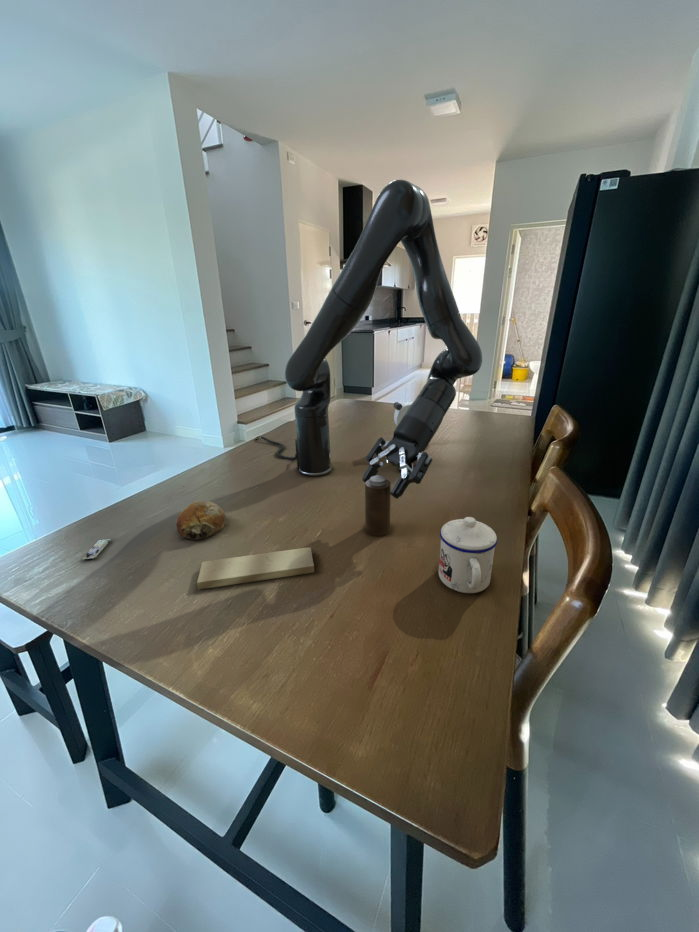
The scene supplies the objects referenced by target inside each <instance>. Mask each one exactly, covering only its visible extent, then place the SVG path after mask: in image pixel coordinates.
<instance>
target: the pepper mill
mask: <svg viewBox="0 0 699 932" xmlns="http://www.w3.org/2000/svg"><path fill="white" fill-rule="evenodd" d="M391 485H392V483H391V481H390V480H389V479H386V477H385V476H384V475H379V474H378V475H377V474H376V476H372V477H370V479H369V480H367V481H366V482H364V509H365V514H364V515H365V517H364V519H365V532H366V533H367V534H368V535H370V536H372V537H373V536H374V537H383V536H386V535H388V534H389V533H390V531H391V496H392V495H391V494H390V493H391V491H392V489H391V487H392V486H391Z"/></svg>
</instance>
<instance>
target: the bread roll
mask: <svg viewBox="0 0 699 932" xmlns="http://www.w3.org/2000/svg"><path fill="white" fill-rule="evenodd" d="M225 524H226V514H225V512H224V510H223V509H222V508H221V507H220V506H219V505H218V504H217V503H214V502H212V501H210V500H201V499H200V500H193V501H191V503H189V504H188V505H187V506H185V507H184V509H182V510H181V511H180V512H179V514H178V516H177V519H176V530H177V533H178V535H179V536H180V537H182V538H183V539H188V540H192V541H193V540H197V541H198V540H202V539H206V538H210V537H211V536H214V535H215V534H219V533H220V532H221V530H222V529H223V528H224V527H225Z"/></svg>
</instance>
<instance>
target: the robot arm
mask: <svg viewBox="0 0 699 932" xmlns="http://www.w3.org/2000/svg"><path fill="white" fill-rule="evenodd" d="M400 242H401V245H402V246H403V248H404V250H405V252H406V254H407V256H408V259H409V261H410V264H411V268H412V272H413V277H414V284H415V290H416V297H417V301H418V305H419V308H420V311H421V314H422V317H423V320H424V322H425V325H426V327H427V330H428V332H429V335H430V337H431V338H432V339H434V340H441V341H442V342H443V343H444V345H445V346H446V348H445V349H443V350H442V351H441V352H439V354H438V355H437V356H436V357H435V359H434V360H433V363H432V364H431V367H430V370H429V373H428V375H427V379H426V382H425V384H424V385H423V387H422V388H421V389H420V390H419V391H420V392H419V393H418V395H417V396H416V398H415V399H414V401H412V402H413V403H412V404H411V405H410V407H409V408H408V410H407V412H406V413H405V415H404V416H403V418H402V419H401V421H400V423H399V424H398V426H397V425H396V427H395V429H394V431H393V436H392V439H391V440H389V441H388V440H385V439H384V438H383V437H379V438H378V439H377V440H376V441H375V443H374V445H373V447H372V448H371V449H370V451H369V452H368V454H367V455H366V456H365V460H366V461H367V462H368V463H369V466H368V467H367V469H366V470H365V472H364V474H363V475H362V482H363V483H365V482H366V481H367V480H369V479H370V477H372V476H376V475H377V474H378V473H379V470H381V469H382V468H384V467H389V466H390V465H391V466H394V467H398V469H399V468H401V472H400V474H401V477H399V478H398V479H397V481H396V482H395V484H394V485H393V487H392V489H391V493H390V494H391V495H390V496H392V497H393V498H394V499H399V498H401V497H402V496H403V495H404V493H405V491H406V490H407V488H408V486H409V484H416V485H419V484H421V483H422V480H423V479H424V477H425V475H426V473H427V471H428V469H429V468H430V466H431V464H432V462H433V458H432V457H431V456H430V455H429V454H428V452H427V451H426V450H427V447H428V446H429V445H430V443H431V441H432V439H433V438H434V436H435V434H436V433H437V432H438V430H439V428H440V426H441V424H442V422H443V420H444V417H445V415H446V414H447V413H448V411H449V410H450V407H451V406H452V404H453V402H454V400H455V398H456V396H457V390H456V388H455V386H454V385H455V383H456V382H457V380H459V379H464V378H467V377H471V376H474V375H475V374H477V373H478V372H479V371H480V369H481V367H482V364H483V352H482V349H481V346H480V344H479V342H478V340H477V339H476V337H475V336H474V335H473V333H472V332H471V330H470V329H469V326H467V324H466V323H465V321H464V320H463V319H462V316H461V313H460V310H459V307H458V303H457V301H456V298H455V296H454V292H453V290H452V287H451V284H450V281H449V278H448V275H447V272H446V269H445V267H444V263H443V261H442V257H441V254H440V250H439V246H438V241H437V237H436V232H435V225H434V220H433V214H432V209H431V204H430V200H429V198H428V195H427V193H426V192H425V191H424V189H422V188H421V187H420V186H418V185H416V184H414V183H413V182H410V181H408V180H406V179H395V180H393V181H391V182H389V183H387V184H386V185H385V186H384V187H383V188H382V189H381V191H380V192H379V194H378V196H377V198H376V199H375V201H374V203H373V206H372V208H371V210H370V213H369V215H368V218H367V219H366V221H365V225H364V226H363V229H362V231H361V233H360V236H359V238H358V240H357V242H356V244H355V246H354V249H353V250H352V251H351V253H350V255H349V257H348V258H347V260H346V262H345V264H344V266H343V267H342V269H341V271H340V273H339V274H338V276H337V278H336V280H335V281H334V283H333V284H332V286H331V288H330V290H329V291H328V293H327V295H326V297H325V300H324V302H323V303H322V306H321V308H320V310H319V311H318V313H317V315H316V317H314V320H313V321H312V323H311V325H310V327H309V329H308V331H307V332H306V334H305V336H304V337H303V339H302V340H301V342H300V343H299V345H298V346H297V347H296V348H295V350H294V351H293V353H292V354H291V355H290V357H289V359H288V361H287V362H286V365H285V368H284V369H285V370H284V378H285V382H286V384H287V386H288V387H289V388H290V389H291V390H293V391H296V392H302V393H301V396H300V397H299V399H298V400H297V402H295V404H294V407H293V408H294V417H295V418H294V419H295V429H296V439H294V445H295V454H294V456H285V455H282V454H279V453H280V452H281V451H283V450H284V449H285V445H284V444H283V443H281V442H278V441H274V440H271V439H268V438H266V437H265V436H262V437H261V438H258V437H260V436H261V435H259V436H255V439H254V440H255V441H257V440H259V439H262V440H264V441H266V442H268V443H271V444H273V445H277V446H280V448H279V449H277V451H276V452H275V455H276V456H277V457H278V458H281V459H283V460H296V466H297V467H296V469H297V470H298V471H299V473H300V474H301V475H303V476H305V477H321V476H325V475H327V474H329V473H331V471H332V461H331V459H332V451H331V441H330V421H329V419H330V418H329V406H330V403H331V393H332V392H331V387H332V385H331V384H332V383H331V368H330V365H329V361H328V360H327V358H326V357H327V356H328V355H329V353H330V352H331V351H332V350H334V348H335V347H337V346H338V345H339V344H340V343H341V342H342V341H343V340H344V339H346V338H347V337H348V336H349V335H350V334H351V333H352V332H353V331H354V329H356V327H357V326H358V325H359V323H360V322H361V320H362V319H363V317H364V315H365V313H366V312H367V310H368V309H369V307H370V305H372V301H373V299H374V296H375V293H376V290H377V286H378V282H379V279H380V275H381V273H382V270H383V268H384V266H385V264H386V262H387V261H388V259H389V258H390V256H391V255H392V253H393V252H394V251H395V249H396V248H397V246H398V245H399V243H400ZM256 438H258V439H256ZM415 461H418V462H417V463H416V465H415V467H414V469H413V463H414V462H415Z"/></svg>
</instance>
